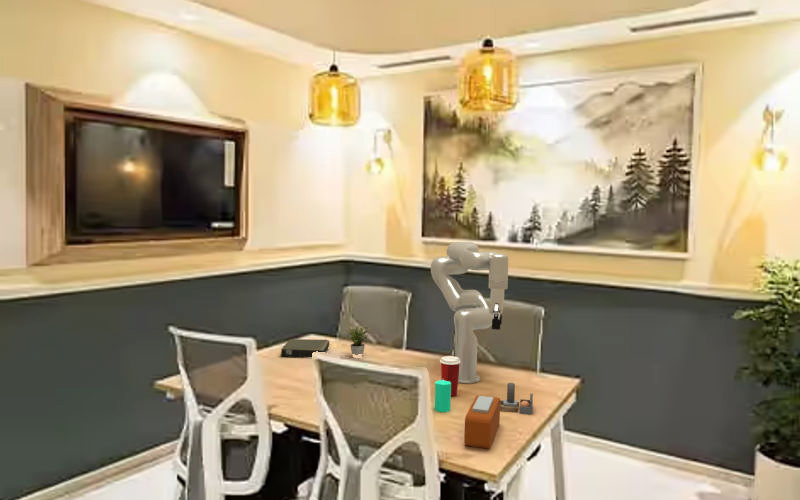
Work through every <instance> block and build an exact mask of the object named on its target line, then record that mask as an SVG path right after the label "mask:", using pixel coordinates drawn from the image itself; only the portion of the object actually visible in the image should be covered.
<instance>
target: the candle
mask: <svg viewBox="0 0 800 500" xmlns="http://www.w3.org/2000/svg"><path fill="white" fill-rule="evenodd" d="M451 399H452V398H451V383H450V381H444V380H442V379H441V380H437V381H435V382H434V410H435V412H439V413H449V412H450V411H451V407H452V406H451V404H452V402H451V401H452V400H451Z"/></svg>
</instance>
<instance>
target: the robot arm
mask: <svg viewBox="0 0 800 500" xmlns="http://www.w3.org/2000/svg"><path fill="white" fill-rule="evenodd" d="M445 252H446V256H439V257H436V258H434V259H433V260H432V261H431V263H430V275H431V278H432V279H433V282H434V283H435V285H437V287H438V288H439V289H440V291H441V292H442V295H443V297H444V298H445V299H444V300H446V303H447V304H448V306H449V308H450V309H451V310H452V311H453V312H455V313H454V315H453V323H454V331H455V350H454V352H455V354H454V355H455V356H454V357H458V358H459V360H460V365H459V377H458V384H475V383H478V382H479V381H481V377H480V376H479V375H478V374H477V371H478V369H477V368H478V367H477V366H478V365H477V363H478V338H477V336H476V334H475V333H474V331H476V330H485V329H489V328H490V327H491V329H492V330H497V331H499V330H501V325H502V322H503V319H502V318H503V314H502V313H503V311H504V304H505V290H508V287H509V286H508V284H509V283H508V282H509V256H508V255H507V254H505V253H500V252H498V251H480V250H479V247H478V245H477V244H476V243H475V242H473V241H456V242H452V243H450V244H449V245H448V246H447V248H446V251H445ZM469 270H471V271H488V289H490V297H489V298H490V299H489V300H490V301H489V305H488V303H487V302H486V300H485V298H484V296H483V294H482V293H481V292H480V291H478V290H476V289H463V288H462V287H461V285H460V284H459V282H458V281H457V280H456V279H455V278H453V277H452V276H453V275H462V274H463V275H464V274H466V273H467V272H468V271H469Z"/></svg>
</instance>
